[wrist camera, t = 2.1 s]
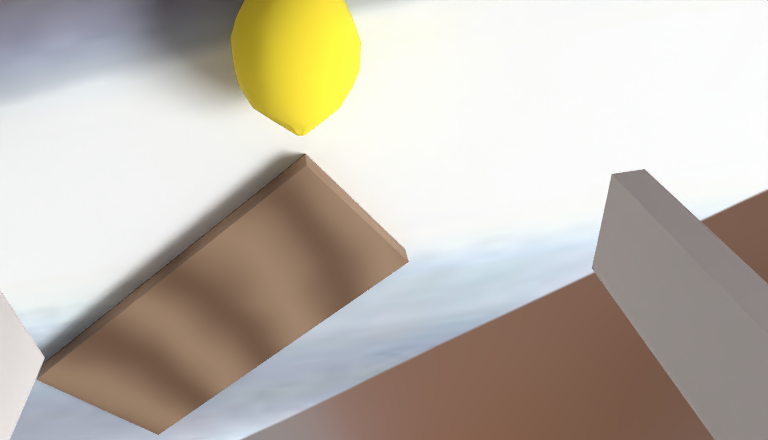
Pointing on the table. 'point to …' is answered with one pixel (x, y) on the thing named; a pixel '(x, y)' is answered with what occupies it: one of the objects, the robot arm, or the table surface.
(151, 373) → the cutting board
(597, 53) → the table surface
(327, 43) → the lemon
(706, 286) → the robot arm
